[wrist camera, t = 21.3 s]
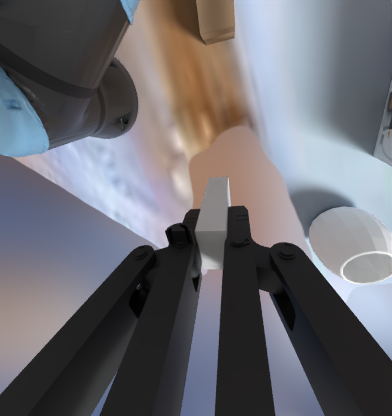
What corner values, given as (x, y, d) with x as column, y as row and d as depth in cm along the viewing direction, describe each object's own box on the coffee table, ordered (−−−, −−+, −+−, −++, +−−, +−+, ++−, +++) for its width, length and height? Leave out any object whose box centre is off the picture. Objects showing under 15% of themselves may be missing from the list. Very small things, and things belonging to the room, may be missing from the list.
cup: (372, 234, 44) (420, 284, 33) (311, 250, 49) (334, 297, 38) (362, 189, 39) (415, 230, 27) (295, 212, 44) (317, 254, 33)
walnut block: (206, 45, 30) (200, 34, 25) (202, 6, 28) (194, -15, 22) (234, 37, 29) (234, 25, 24) (232, -3, 27) (232, -28, 21)
